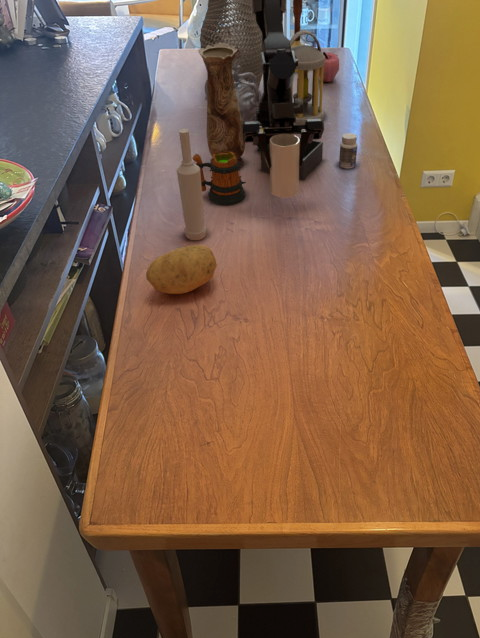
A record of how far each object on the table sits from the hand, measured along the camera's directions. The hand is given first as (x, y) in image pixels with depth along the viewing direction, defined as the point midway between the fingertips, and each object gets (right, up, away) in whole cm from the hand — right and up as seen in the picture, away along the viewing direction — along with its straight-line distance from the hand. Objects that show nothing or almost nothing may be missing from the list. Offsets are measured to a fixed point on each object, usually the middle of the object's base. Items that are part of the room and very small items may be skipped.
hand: (285, 167), depth 140 cm
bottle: (-21, -15, +4) cm, 26 cm away
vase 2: (-16, +11, +31) cm, 36 cm away
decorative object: (-20, +69, +90) cm, 115 cm away
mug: (-17, -2, +17) cm, 24 cm away
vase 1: (-16, +48, +68) cm, 85 cm away
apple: (+16, +58, +78) cm, 99 cm away
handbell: (+5, +69, +89) cm, 113 cm away
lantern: (+6, +35, +55) cm, 65 cm away
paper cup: (0, -4, +6) cm, 7 cm away
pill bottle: (+18, +10, +30) cm, 36 cm away
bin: (+2, +11, +30) cm, 31 cm away
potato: (-22, -30, -11) cm, 38 cm away
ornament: (-14, +28, +48) cm, 58 cm away
